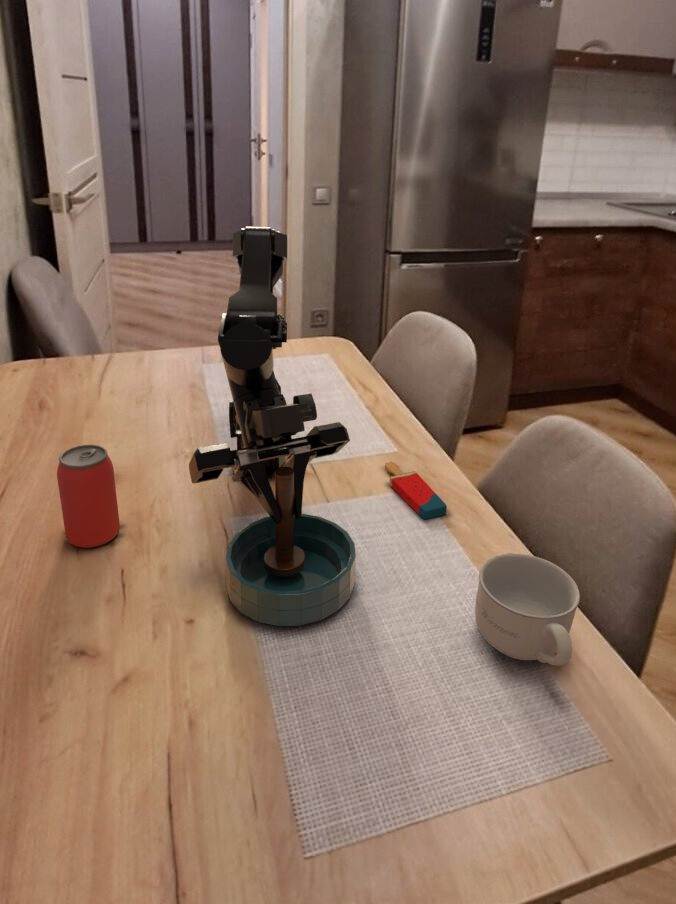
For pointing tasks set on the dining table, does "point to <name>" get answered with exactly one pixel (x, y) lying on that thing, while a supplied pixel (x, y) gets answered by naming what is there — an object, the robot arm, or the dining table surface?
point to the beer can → (88, 496)
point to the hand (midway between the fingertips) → (288, 520)
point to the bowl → (298, 594)
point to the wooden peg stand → (284, 529)
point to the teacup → (526, 607)
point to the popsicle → (416, 492)
